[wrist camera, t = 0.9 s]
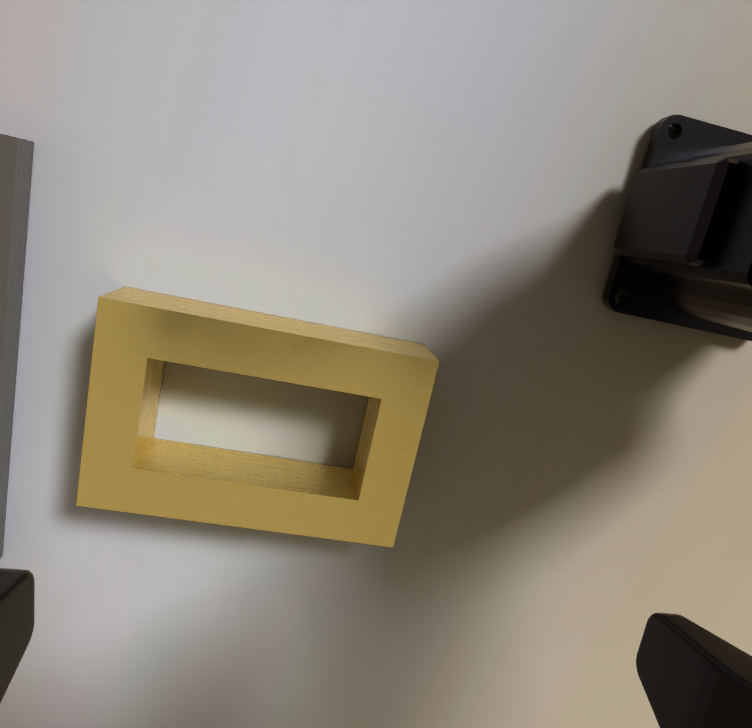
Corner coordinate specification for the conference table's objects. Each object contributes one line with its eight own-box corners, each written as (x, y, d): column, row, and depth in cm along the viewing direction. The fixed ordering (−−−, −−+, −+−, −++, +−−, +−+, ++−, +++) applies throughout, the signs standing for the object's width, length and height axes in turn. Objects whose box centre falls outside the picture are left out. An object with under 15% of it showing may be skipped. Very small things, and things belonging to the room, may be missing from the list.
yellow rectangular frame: (424, 344, 20) (439, 361, 18) (384, 511, 21) (393, 547, 19) (124, 286, 18) (98, 297, 16) (103, 471, 20) (76, 505, 17)
